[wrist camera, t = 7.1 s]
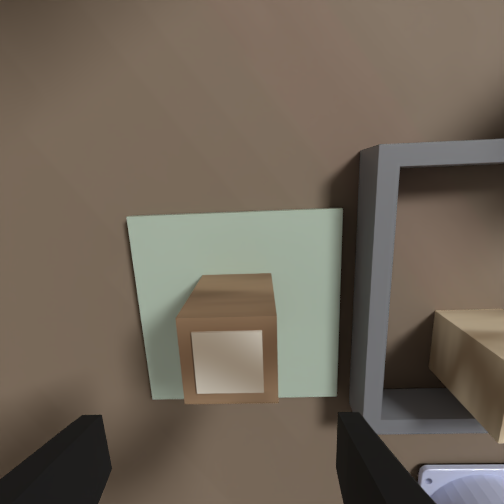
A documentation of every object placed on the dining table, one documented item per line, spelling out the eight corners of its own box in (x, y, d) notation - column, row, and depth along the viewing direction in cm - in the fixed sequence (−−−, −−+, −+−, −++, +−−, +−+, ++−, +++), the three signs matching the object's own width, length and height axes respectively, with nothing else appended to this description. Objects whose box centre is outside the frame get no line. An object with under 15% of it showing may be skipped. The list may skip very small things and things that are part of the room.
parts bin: (565, 399, 19) (611, 431, 16) (348, 402, 19) (361, 434, 17) (631, 138, 15) (704, 129, 12) (360, 150, 15) (379, 144, 13)
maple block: (492, 366, 18) (589, 441, 13) (428, 367, 18) (498, 443, 13) (501, 308, 17) (610, 364, 12) (434, 310, 17) (512, 366, 12)
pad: (334, 390, 19) (336, 396, 18) (155, 392, 19) (152, 399, 19) (339, 207, 16) (343, 208, 15) (131, 215, 16) (126, 216, 16)
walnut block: (272, 335, 17) (278, 404, 12) (207, 336, 17) (184, 406, 12) (271, 273, 16) (277, 317, 11) (202, 274, 17) (174, 319, 11)
